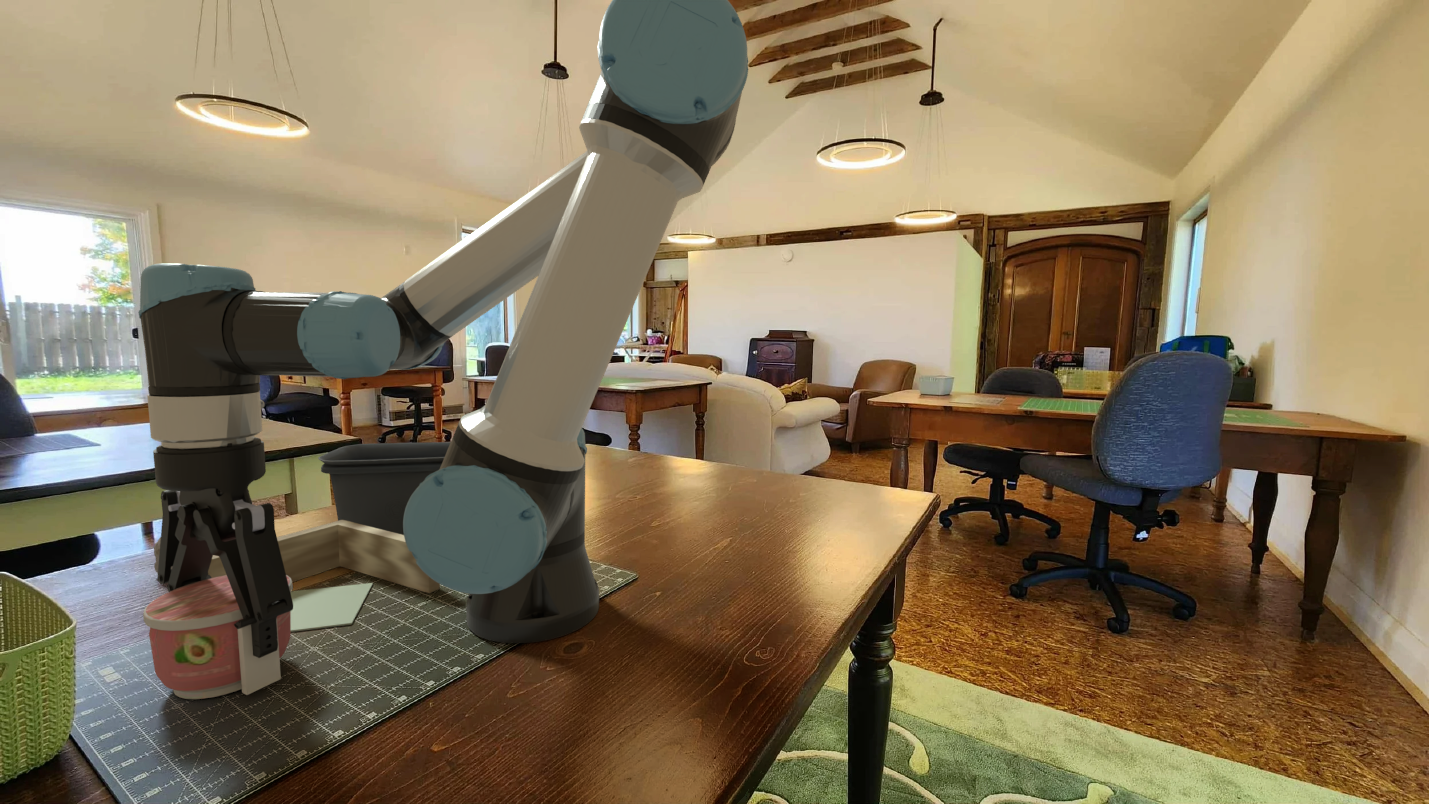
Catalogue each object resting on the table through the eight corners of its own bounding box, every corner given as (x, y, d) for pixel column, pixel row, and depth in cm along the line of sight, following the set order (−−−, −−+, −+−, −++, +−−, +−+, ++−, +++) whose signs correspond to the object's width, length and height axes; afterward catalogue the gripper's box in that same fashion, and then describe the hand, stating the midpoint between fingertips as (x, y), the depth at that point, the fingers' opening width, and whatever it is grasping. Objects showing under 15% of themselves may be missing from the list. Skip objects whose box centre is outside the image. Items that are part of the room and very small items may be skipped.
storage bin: (313, 554, 84) (308, 458, 82) (354, 520, 99) (351, 440, 97) (467, 546, 88) (466, 456, 87) (484, 516, 103) (483, 439, 102)
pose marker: (372, 584, 74) (372, 582, 74) (351, 624, 64) (351, 622, 64) (271, 594, 70) (271, 593, 70) (231, 639, 60) (231, 637, 60)
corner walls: (439, 588, 74) (438, 543, 73) (287, 656, 57) (284, 599, 57) (343, 560, 82) (342, 519, 81) (186, 612, 65) (182, 562, 65)
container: (123, 692, 51) (115, 607, 50) (253, 636, 60) (248, 564, 60) (196, 722, 47) (189, 630, 46) (321, 657, 57) (317, 580, 56)
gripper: (332, 445, 50) (345, 681, 52) (195, 424, 60) (211, 624, 62) (231, 461, 43) (250, 730, 46) (95, 434, 53) (117, 658, 55)
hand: (228, 669), depth 54 cm, fingers closed on container, 10 cm apart
